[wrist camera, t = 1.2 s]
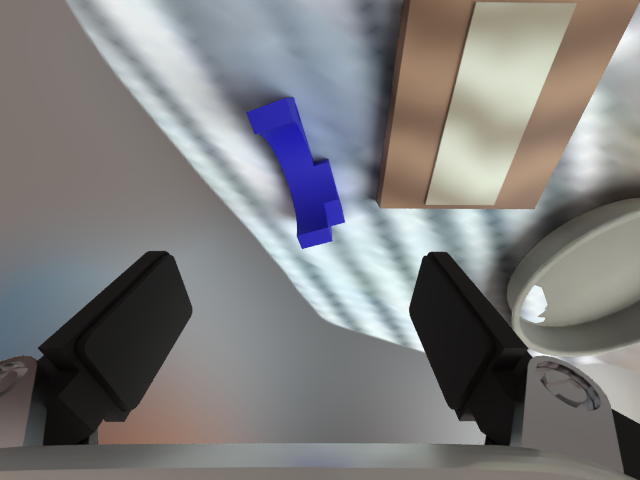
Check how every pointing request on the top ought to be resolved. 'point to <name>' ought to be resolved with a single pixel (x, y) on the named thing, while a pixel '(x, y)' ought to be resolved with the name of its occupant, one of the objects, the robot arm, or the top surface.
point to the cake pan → (583, 284)
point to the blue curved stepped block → (300, 171)
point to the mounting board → (490, 97)
